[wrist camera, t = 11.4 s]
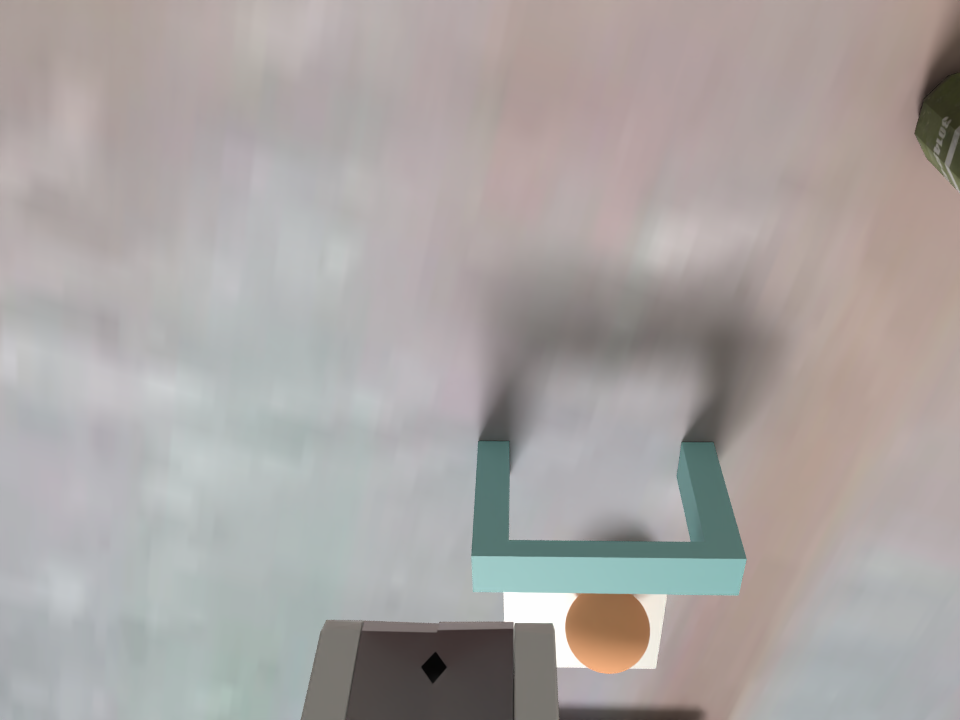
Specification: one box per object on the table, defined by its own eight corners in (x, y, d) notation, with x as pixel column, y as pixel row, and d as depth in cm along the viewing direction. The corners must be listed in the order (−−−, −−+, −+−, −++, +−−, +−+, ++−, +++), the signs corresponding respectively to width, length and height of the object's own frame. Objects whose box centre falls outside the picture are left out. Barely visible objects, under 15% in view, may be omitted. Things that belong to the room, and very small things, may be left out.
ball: (564, 680, 58) (561, 589, 59) (568, 664, 63) (565, 581, 64) (654, 682, 57) (650, 589, 58) (649, 665, 63) (645, 581, 64)
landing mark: (505, 664, 68) (505, 666, 68) (503, 562, 61) (503, 564, 61) (655, 666, 68) (655, 668, 68) (671, 564, 61) (671, 566, 61)
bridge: (707, 476, 56) (738, 595, 48) (479, 475, 57) (473, 591, 49) (713, 442, 54) (746, 558, 46) (478, 441, 55) (471, 556, 47)
